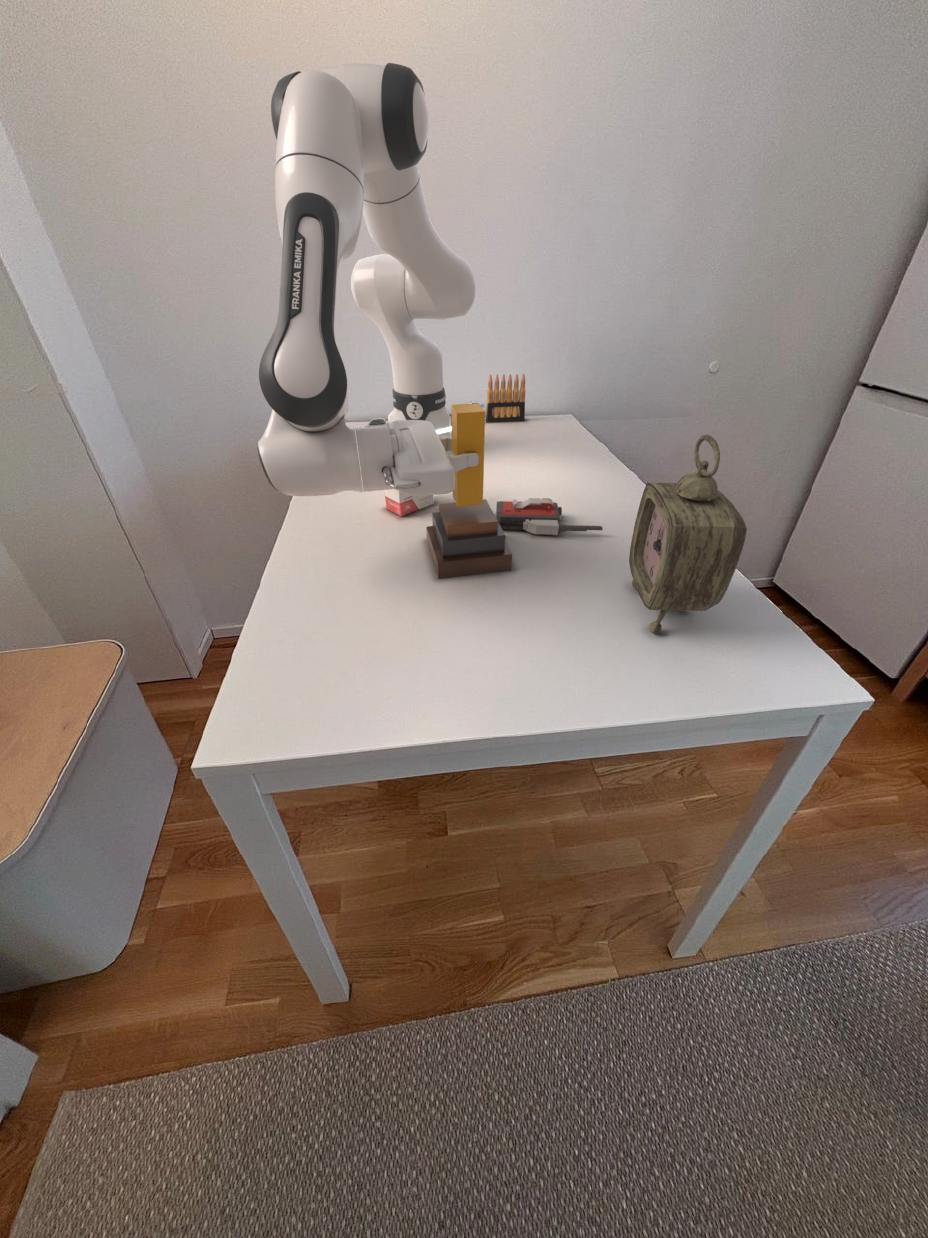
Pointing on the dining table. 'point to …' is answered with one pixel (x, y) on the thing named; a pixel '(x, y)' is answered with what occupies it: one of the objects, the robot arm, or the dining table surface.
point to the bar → (468, 438)
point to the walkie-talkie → (535, 517)
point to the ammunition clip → (505, 400)
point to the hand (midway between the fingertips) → (473, 451)
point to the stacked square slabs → (467, 541)
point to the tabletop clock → (685, 542)
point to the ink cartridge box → (405, 502)
